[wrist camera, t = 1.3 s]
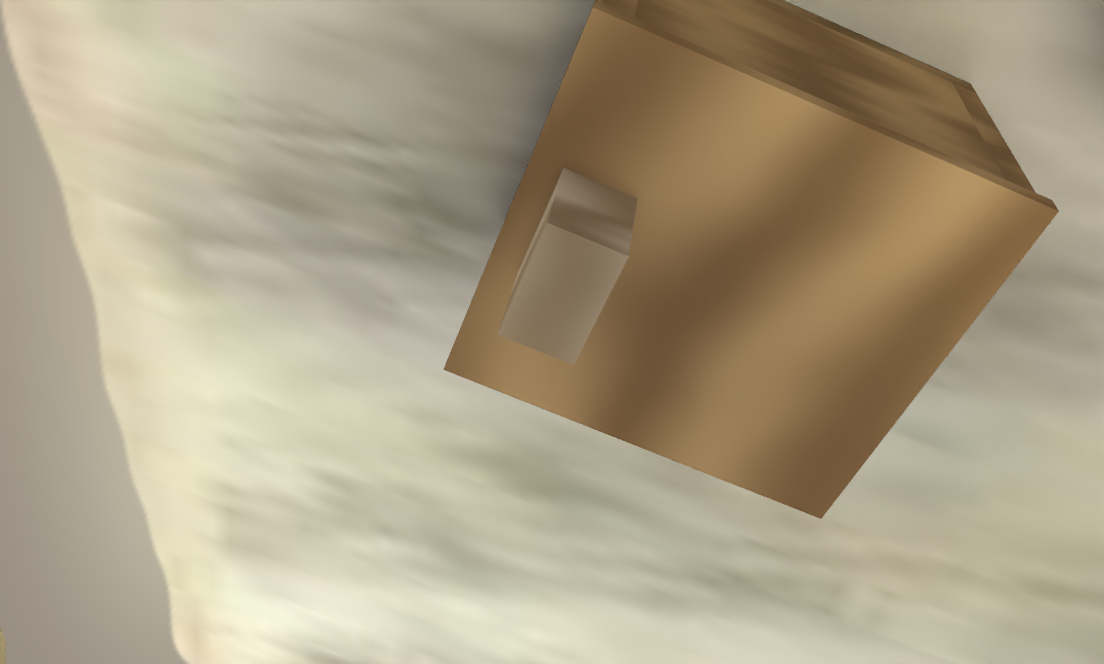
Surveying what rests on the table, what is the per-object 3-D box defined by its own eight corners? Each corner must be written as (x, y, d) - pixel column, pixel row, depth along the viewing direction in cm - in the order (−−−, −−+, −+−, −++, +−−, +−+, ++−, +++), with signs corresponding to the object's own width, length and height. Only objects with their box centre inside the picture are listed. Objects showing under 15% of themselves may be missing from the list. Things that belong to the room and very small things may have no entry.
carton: (971, 84, 38) (1040, 201, 30) (798, 344, 45) (817, 497, 37) (626, -70, 37) (599, 8, 29) (505, 223, 44) (455, 354, 36)
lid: (1052, 200, 30) (1097, 274, 26) (819, 505, 37) (830, 594, 34) (595, 0, 28) (578, 49, 25) (448, 358, 36) (418, 435, 32)
